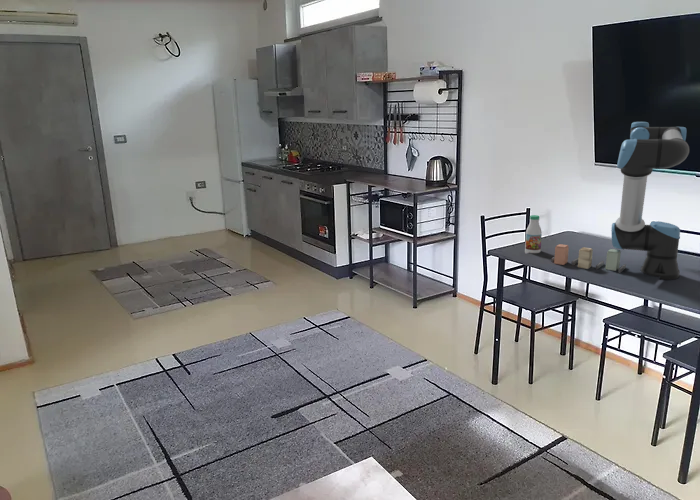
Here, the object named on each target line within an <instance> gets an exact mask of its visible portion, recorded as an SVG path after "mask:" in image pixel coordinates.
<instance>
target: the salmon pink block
mask: <svg viewBox="0 0 700 500" xmlns="http://www.w3.org/2000/svg"><path fill="white" fill-rule="evenodd" d="M569 249H570V248H569V244H562V243H561V244H560V243H559V244H557V245H556V246H555V248H554V256H555V259H554V262H553V264H556V265H561V266H562V265H563V266H565V265H566V264H568V260H569Z"/></svg>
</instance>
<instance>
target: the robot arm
mask: <svg viewBox="0 0 700 500" xmlns="http://www.w3.org/2000/svg"><path fill="white" fill-rule="evenodd" d="M629 133H630V134H629V139H625V140H623V142H622V143H621V146H620V150H619V154H618V159H617V164H616V167H617V169H620V173H621V174H622V175H623V184H622V192H621V193H622V194H621V201H620V202H621V203H620V211H619V212H620V213H619V215H620V216H619V217H617V219H616V220H615V222H612V224H611V230H610V231H611V244H612V245H611V246H613V247H612V248H613V249H614V248H615V249H616V250H622V251H623V250H624V251H625V250H630V251H645V252H646V257H645V260H644V262H643V263H642V265H641V266H640V272H641V273H643V274H645V275H649V276H652V277H658V278H659V280H666V281H667V280H671V281H672V280H676V279H679V277H680V272H681V271H680V269H679V264H678V252H679V244H680V239H681V236H680V235H681V229H680V227H679V226H677V225H675V224H673V223H669V222H664V221H656V220H655V221H654V220H653V221H651V222H650V223H649V224H646V222H645V219H643V214H644V213H643V211H644V206H645V205H644V204H645V196H646V189H647V182H648V176H650V175H651V174H652V173H653V170H658V169H659V170H664V169H665V170H666V169H671V168H673V167H675V166H678V165H680V164H681V163H683V162H684V161H685V160H686V159H687V157H688V156H689V154H690V146H689V144H688V142H687V141H686V139H687V128H686V127H684V126H650V124H649V122H647V121H633V122H632V123H631V126H630V132H629Z"/></svg>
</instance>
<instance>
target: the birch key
mask: <svg viewBox="0 0 700 500" xmlns="http://www.w3.org/2000/svg"><path fill="white" fill-rule="evenodd" d="M593 250H594V249H593V248H590V247H581V248H579V250H578V257H579V258H578V257H577V258H578V262H577V268H581V269H586V270H588V269H590V268H591V267H592V264H593V263H592V262H593Z"/></svg>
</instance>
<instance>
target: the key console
mask: <svg viewBox="0 0 700 500" xmlns="http://www.w3.org/2000/svg"><path fill="white" fill-rule="evenodd" d="M578 258H579V256H578V257H577V258H575V259H573V260H572V261H571V266H575V265H576V264H578ZM554 259H555V255H554V256H553V257H552V258H551V259H550V261H551V263H554ZM604 264H605V261H604V260H602V261H600V262H598V264H596V265H595V270H598V269H600V268H601V267H603V266H604ZM626 268H627V264H626V263H625V264H623V265H621V266H619V269H618V270H617V272H618V274H621V273H622V272H623V271H624V270H625V269H626Z"/></svg>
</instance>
